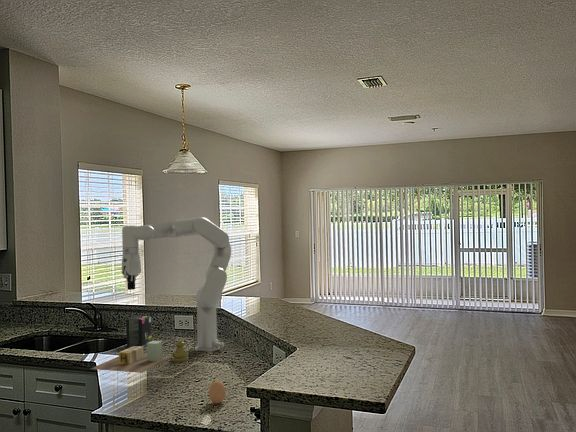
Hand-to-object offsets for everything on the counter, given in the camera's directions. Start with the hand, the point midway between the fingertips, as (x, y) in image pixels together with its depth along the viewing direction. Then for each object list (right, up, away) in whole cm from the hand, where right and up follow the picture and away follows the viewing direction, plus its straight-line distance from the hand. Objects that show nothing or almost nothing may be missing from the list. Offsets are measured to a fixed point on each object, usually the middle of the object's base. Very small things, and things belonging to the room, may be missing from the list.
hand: (131, 289), depth 257 cm
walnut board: (+6, -32, -16) cm, 36 cm away
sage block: (+14, -31, -13) cm, 36 cm away
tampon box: (-2, -33, +22) cm, 39 cm away
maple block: (+2, -28, -19) cm, 34 cm away
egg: (+51, -31, -69) cm, 91 cm away
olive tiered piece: (+27, -32, -14) cm, 44 cm away
